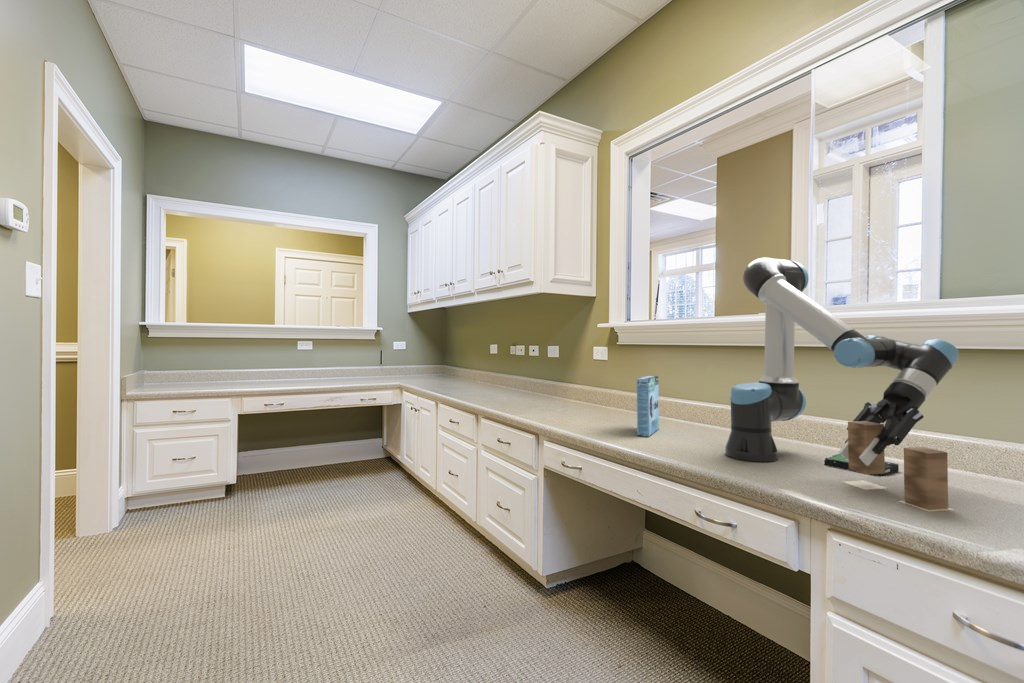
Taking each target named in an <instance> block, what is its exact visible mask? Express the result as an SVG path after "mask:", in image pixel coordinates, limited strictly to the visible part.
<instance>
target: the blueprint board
mask: <svg viewBox="0 0 1024 683" xmlns="http://www.w3.org/2000/svg"><path fill="white" fill-rule="evenodd" d="M843 483H845V484H847V485H850V486H853V487H856V488H859V489H862V490H865V491H866V490H867V491H868V490H884V489H887V487H886V486H882V485H879V484H876V483H874V482H870V481H866V480H863V479H861V480H849V481H848V480H847V481H843ZM898 502H900V503H901V504H902V503H903V504H905V505H909V506H911V507H914V508H917V509H920V510H922V511H926V512H942V511H945V512H946V511H955V509H953V508H951V507H948V509H935V510H927V509H924V508H921V507H918V506H915V505H912V504H909V503H906V502H904V500H898Z"/></svg>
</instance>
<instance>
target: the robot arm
mask: <svg viewBox="0 0 1024 683" xmlns="http://www.w3.org/2000/svg"><path fill="white" fill-rule="evenodd" d="M742 281H743V283H744V284H743V285H744V286H745V288H746V289H747V290H748V292H750V293H751V294H753V296H754V297H757V299H759V301H760V302H761V303H763V304H764V305H765V314H764V315H765V318H764V321H765V322H764V326H765V327H764V370H763V372H764V373H763V376H762V377H760V379H758V382H746V383H745V382H743V383H739V384H736V385H734V386H733V387H732V388H731V390H730V398H729V401H730V432H729V433H730V434H729V436H728V439H727V442H726V445H725V447H724V448H725V455H726V456H728V457H730V458H733V459H737V460H741V461H749V462H756V463H757V462H758V463H759V462H763V463H764V462H765V463H766V462H768V463H769V462H774V461H775V462H776V461H777V460H779V450H778V449H777V445H776V442H775V439H774V438H773V433H772V423H773V422H785V421H790V420H793V419H796V418H798V417H799V416H800V415H802V414H803V413H804V411H805V408H806V405H807V399H806V395H805V393H803V391H802V390H801V389H800V381H799V380H798V379H797V378H796V377H795V370H794V369H795V334H796V332H795V331H796V330H795V328H796V325H795V323H796V324H797V325H798V326H800V327H801V328H802V329H803V330H805V331H806V332H808V333H809V334H810V335H812V337H814V338H815V339H816V340H818V341H819V342H820V343H821V344H823V345H824V346H825V347H827V348H829V350H831V351H832V352H833V354H834V356H833V357H834V358H835V359H836V361H837V363H839V364H840V365H841V366H843V367H847V368H854V369H856V368H857V369H859V368H860V369H861V368H870V367H873V368H874V367H886V368H890V369H895V370H899V371H900V372H899V373H898V374H897V376H895V377H894V379H893V381H892V382H891V383H890V384H889V386H888V387H887V388H886V389H885V390H884V391H883V397H882V399H881V400H879V401H877V403H873V404H871V402H866V403H864V406H863V409H862V410H861V411H860V412H859V413H858V414H857V416H856V417H855V418H854V419H853V420H852V422H853V421H868V422H873V423H879V424H884V428H883V430H882V432H881V435H879V436H878V435H877V436H878V437H879V438H880V440H879V439H878V438H874V440H873V441H872V442H871V443H870V444H869V446H868V447H867V448H866V449H865V450H864V452H863V453H862V454H861V455H860V457H859V458H860V459H861V460H862V462H863V463H864V464H865V465H867V466H869V465H870V464H871V462H872V461H873V460H874V459H875V457H876V456H877V455H878V454H881V453H882V452H883V450H884V451H885V449H886V448H887V447H889V446H891V445H894V446H899V445H900V444H901V443H902V442H903V440H904V439H905V438H906V437H907V435H908V434H909V433H910V432H911V430H912V429H913V428H914V426H915V425H916V424H917V423H918V422H919V421H921V420H922V419H924V415H923V414H922V412H920V410H919V408H920V407H921V406H922V405H923V404H924V402H925V401H926V399H927V398H928V397H929V396H930V395H931V393H932V392H933V391H934V390H935V388H936V387H937V386H938V385H939V383H940V382H941V381H942V380H943V379H944V377H945V376H946V375H947V374H948V373H949V372H950V370H952V369H953V366H954V365H955V363H956V362H957V361H958V359H959V357H960V353H959V349H958V348H957V347H956V346H954V345H953V343H951V342H948V341H946V340H943V339H938V338H934V339H928V340H926V341H924V342H923V343H922V344H916V343H909V342H905V341H901V340H896V339H894V338H893V339H892V338H888V337H886V336H881V335H880V336H879V335H872V334H869V335H866V336H864V335H862V334H861V333H860V332H858V331H857V330H855V329H854V328H853V327H851V326H850V325H849V324H847V323H846V322H844V321H843V320H842V319H840V318H839V317H837V316H836V315H834V314H833V313H831V312H830V311H829V310H827V309H826V308H824V307H823V306H822V305H820V304H818V302H816V301H815V300H813V299H812V298H810V297H809V296H807V295H806V294H805V293H803V292H804V291H805V289H807V286H808V284H809V273H808V270H807V269H806V268H805V266H804V265H803V264H801V263H800V262H797V261H794V260H790V259H782V258H781V259H780V258H772V257H760V258H757V259H754V260H753V261H751V262H750V263H749V264H748V265H747V266H746V267H745V269H744V270H743V276H742ZM846 430H847V431H848V426H847V427H846ZM838 454H841V455H842V457H843V458H844V459H846V460H848V459H849V452H848V438H846V440H845V442H844V445H843V446H842V447H841V448H840V450H839V451H838Z"/></svg>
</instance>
